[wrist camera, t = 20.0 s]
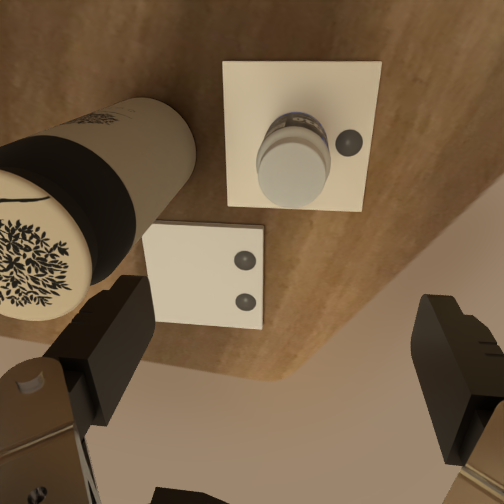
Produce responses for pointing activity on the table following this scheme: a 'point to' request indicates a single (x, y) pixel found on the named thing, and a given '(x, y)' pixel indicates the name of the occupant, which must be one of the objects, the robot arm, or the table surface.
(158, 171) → the travel mug
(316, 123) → the pill bottle
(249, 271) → the two-dot pad
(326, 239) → the table surface
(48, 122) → the table surface
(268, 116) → the one-dot pad
